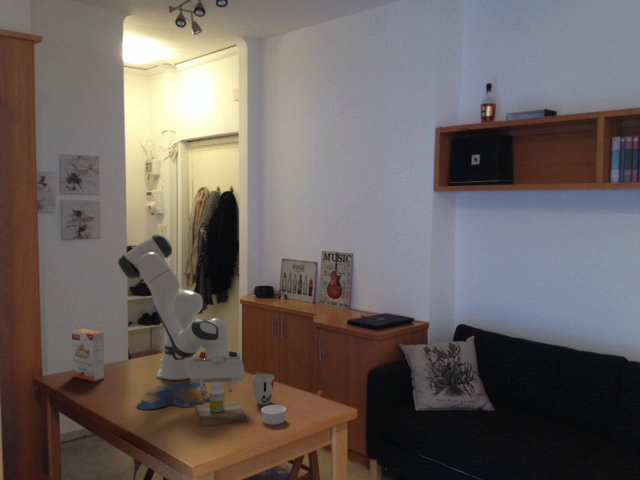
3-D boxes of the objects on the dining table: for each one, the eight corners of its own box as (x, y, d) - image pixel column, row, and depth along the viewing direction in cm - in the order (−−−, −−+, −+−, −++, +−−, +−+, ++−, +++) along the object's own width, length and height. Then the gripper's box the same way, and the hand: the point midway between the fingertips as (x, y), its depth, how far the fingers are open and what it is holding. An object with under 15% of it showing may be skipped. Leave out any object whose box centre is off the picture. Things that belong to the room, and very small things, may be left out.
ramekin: (277, 427, 201) (277, 415, 201) (256, 422, 206) (256, 410, 206) (290, 419, 209) (290, 407, 209) (270, 414, 214) (270, 403, 213)
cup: (262, 407, 221) (262, 381, 220) (248, 402, 226) (248, 377, 226) (278, 402, 227) (278, 376, 226) (264, 397, 232) (264, 372, 232)
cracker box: (71, 377, 257) (70, 330, 256) (83, 374, 263) (82, 328, 261) (93, 382, 250) (92, 334, 249) (104, 378, 256) (104, 331, 254)
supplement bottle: (213, 406, 217) (213, 380, 217) (227, 407, 216) (226, 382, 215) (207, 411, 212) (206, 385, 212) (220, 412, 211) (220, 386, 210)
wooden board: (195, 409, 218) (195, 405, 218) (237, 404, 224) (237, 401, 223) (201, 426, 201) (201, 422, 201) (247, 421, 206) (247, 417, 206)
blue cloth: (204, 382, 251) (204, 381, 251) (211, 405, 224) (211, 403, 224) (138, 388, 244) (138, 386, 244) (137, 411, 216) (137, 409, 216)
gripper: (189, 355, 218) (188, 388, 209) (244, 352, 222) (245, 386, 213) (189, 363, 223) (188, 397, 214) (243, 361, 227) (244, 394, 218)
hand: (217, 391), depth 214 cm, fingers open, 8 cm apart
